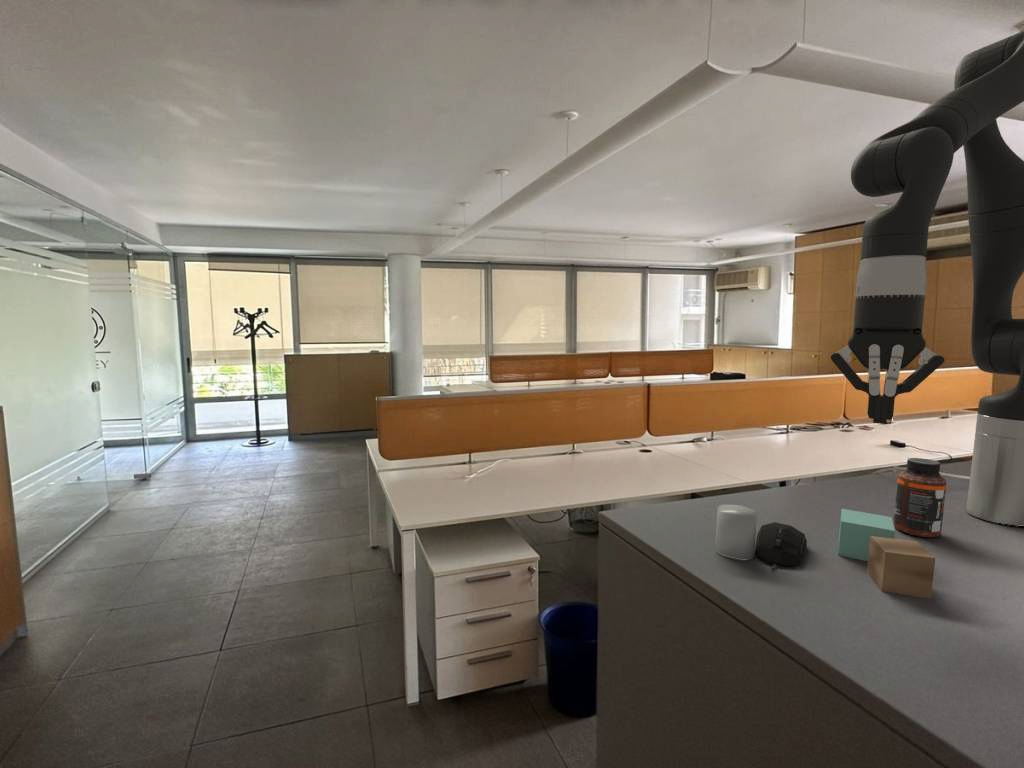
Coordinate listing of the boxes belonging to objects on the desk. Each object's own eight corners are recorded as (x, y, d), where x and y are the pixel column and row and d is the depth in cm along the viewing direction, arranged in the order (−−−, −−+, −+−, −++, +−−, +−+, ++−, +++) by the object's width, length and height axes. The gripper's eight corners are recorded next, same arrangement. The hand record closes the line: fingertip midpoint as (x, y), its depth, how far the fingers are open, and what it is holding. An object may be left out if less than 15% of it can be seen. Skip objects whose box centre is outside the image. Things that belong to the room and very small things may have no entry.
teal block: (838, 541, 78) (841, 508, 78) (887, 551, 75) (891, 517, 74) (838, 555, 73) (841, 521, 72) (891, 567, 70) (895, 530, 69)
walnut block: (866, 573, 68) (870, 536, 67) (912, 579, 66) (916, 541, 66) (881, 591, 63) (885, 551, 63) (930, 598, 62) (935, 558, 61)
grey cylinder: (719, 542, 77) (721, 502, 76) (756, 550, 74) (759, 509, 74) (711, 554, 73) (714, 512, 72) (751, 563, 70) (754, 519, 69)
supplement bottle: (949, 541, 79) (958, 467, 77) (904, 537, 80) (912, 464, 78) (927, 526, 84) (934, 457, 83) (885, 523, 86) (892, 454, 84)
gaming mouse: (745, 572, 68) (747, 542, 68) (760, 534, 81) (762, 509, 80) (800, 585, 65) (802, 554, 65) (807, 544, 78) (809, 518, 77)
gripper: (948, 293, 69) (936, 423, 71) (831, 296, 76) (823, 414, 78) (959, 290, 63) (946, 432, 65) (830, 293, 70) (822, 422, 72)
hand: (879, 422), depth 72 cm, fingers closed
